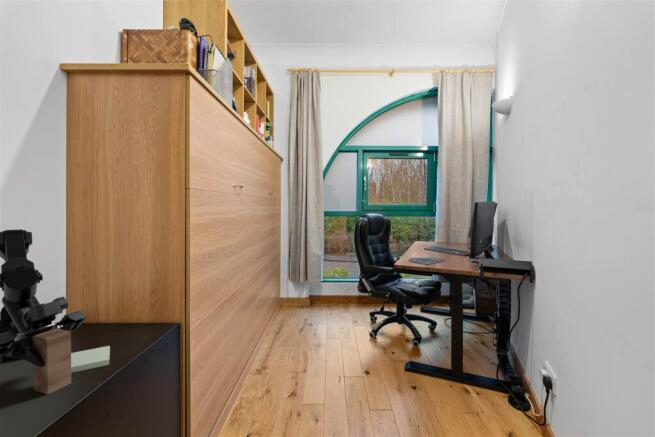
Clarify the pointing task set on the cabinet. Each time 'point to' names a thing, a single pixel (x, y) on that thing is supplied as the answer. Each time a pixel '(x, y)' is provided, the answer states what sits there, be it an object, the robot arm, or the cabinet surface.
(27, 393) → the cabinet surface
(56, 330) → the walnut block
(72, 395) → the cabinet surface
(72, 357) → the sage board
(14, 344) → the robot arm
